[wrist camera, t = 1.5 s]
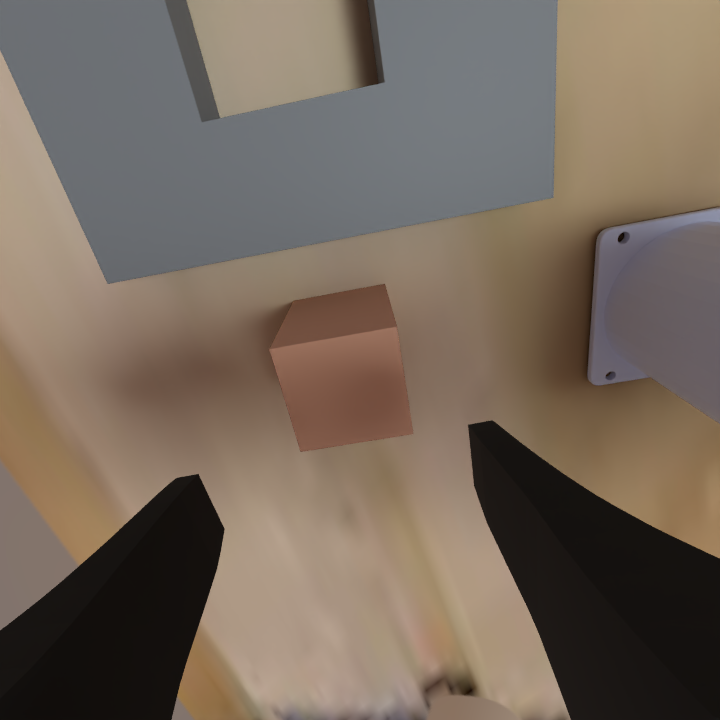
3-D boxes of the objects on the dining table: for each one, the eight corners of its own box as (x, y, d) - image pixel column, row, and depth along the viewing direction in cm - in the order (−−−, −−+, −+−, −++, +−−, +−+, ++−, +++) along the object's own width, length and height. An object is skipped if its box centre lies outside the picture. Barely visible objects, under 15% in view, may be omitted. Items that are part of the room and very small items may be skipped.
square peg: (384, 283, 19) (396, 326, 13) (397, 366, 21) (413, 434, 15) (293, 300, 19) (269, 349, 14) (314, 380, 21) (300, 451, 16)
